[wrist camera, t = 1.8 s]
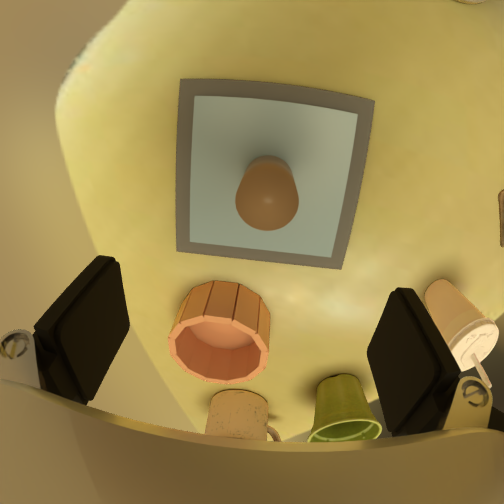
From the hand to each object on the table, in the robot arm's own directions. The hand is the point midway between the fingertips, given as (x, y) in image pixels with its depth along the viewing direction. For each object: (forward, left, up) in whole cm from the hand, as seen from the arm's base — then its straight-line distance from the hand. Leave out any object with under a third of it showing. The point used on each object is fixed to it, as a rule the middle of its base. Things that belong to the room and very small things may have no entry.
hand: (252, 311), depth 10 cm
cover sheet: (0, 0, -17) cm, 17 cm away
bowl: (+16, -3, -17) cm, 23 cm away
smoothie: (+10, +21, -18) cm, 29 cm away
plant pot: (+27, +13, -18) cm, 35 cm away
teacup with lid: (+34, +1, -18) cm, 38 cm away
